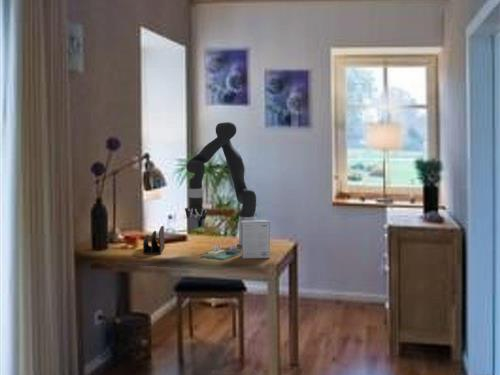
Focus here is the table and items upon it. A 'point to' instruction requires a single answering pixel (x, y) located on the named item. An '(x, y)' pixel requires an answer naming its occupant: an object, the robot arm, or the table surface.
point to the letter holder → (154, 244)
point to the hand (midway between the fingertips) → (196, 226)
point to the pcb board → (223, 253)
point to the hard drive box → (255, 238)
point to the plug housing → (194, 222)
